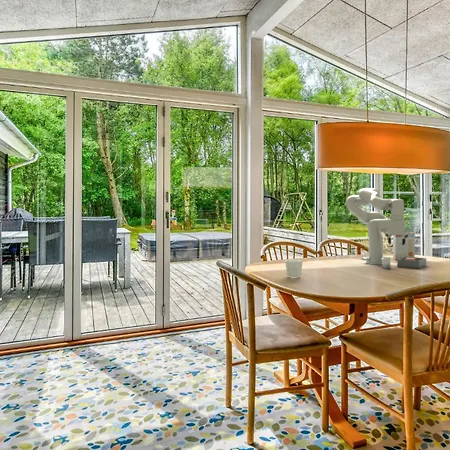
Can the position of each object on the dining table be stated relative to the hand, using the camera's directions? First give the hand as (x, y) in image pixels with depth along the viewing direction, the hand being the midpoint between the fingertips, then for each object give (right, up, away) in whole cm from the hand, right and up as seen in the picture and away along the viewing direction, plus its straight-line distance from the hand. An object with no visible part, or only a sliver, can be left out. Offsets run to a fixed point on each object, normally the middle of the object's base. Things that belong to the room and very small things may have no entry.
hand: (396, 244), depth 249 cm
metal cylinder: (-7, -16, -2) cm, 18 cm away
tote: (+14, -15, +7) cm, 22 cm away
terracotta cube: (+11, -15, +5) cm, 19 cm away
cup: (-73, -18, -28) cm, 80 cm away
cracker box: (+22, -14, +36) cm, 45 cm away
